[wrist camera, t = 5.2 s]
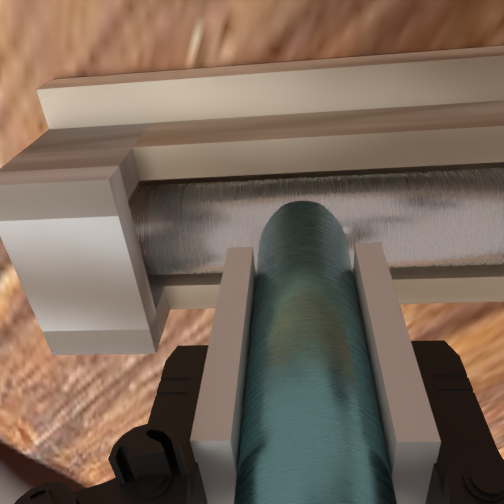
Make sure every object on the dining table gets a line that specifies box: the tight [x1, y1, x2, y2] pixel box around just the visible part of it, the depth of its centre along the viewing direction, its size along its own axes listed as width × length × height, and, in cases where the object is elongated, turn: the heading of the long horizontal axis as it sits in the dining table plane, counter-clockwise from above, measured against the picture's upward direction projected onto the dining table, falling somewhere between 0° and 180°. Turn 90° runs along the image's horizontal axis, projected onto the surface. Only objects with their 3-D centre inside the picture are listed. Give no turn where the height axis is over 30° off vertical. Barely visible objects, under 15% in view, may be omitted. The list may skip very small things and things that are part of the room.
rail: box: [0, 46, 504, 355], centre depth 17 cm, size 10×28×6 cm, turn 95°
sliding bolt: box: [128, 168, 504, 504], centre depth 13 cm, size 3×20×14 cm, turn 95°
